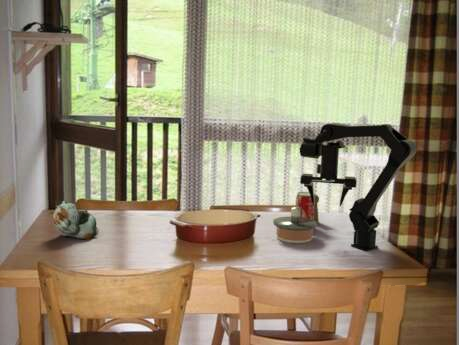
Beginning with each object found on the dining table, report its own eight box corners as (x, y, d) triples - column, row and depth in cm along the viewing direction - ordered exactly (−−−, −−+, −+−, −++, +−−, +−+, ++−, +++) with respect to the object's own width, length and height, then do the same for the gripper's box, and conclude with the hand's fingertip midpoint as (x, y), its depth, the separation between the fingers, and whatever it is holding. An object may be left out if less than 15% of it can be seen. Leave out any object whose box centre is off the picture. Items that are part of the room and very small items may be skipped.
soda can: (312, 225, 201) (314, 192, 198) (313, 230, 194) (316, 196, 191) (294, 224, 201) (295, 191, 199) (294, 229, 194) (296, 195, 192)
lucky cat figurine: (99, 239, 174) (81, 207, 167) (65, 254, 174) (45, 221, 167) (98, 216, 187) (81, 185, 180) (66, 229, 187) (48, 198, 180)
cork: (318, 224, 202) (320, 196, 200) (302, 223, 203) (304, 195, 201) (319, 220, 208) (320, 193, 206) (303, 219, 209) (305, 192, 207)
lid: (326, 226, 181) (327, 209, 180) (294, 232, 172) (295, 215, 171) (295, 216, 193) (295, 201, 192) (264, 222, 184) (265, 206, 183)
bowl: (318, 239, 182) (319, 225, 182) (293, 245, 175) (294, 230, 174) (294, 231, 192) (294, 218, 191) (269, 236, 184) (270, 222, 184)
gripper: (357, 158, 185) (354, 202, 188) (303, 155, 189) (301, 198, 192) (358, 163, 175) (354, 209, 177) (301, 159, 178) (298, 204, 181)
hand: (326, 204), depth 182 cm, fingers open, 9 cm apart
